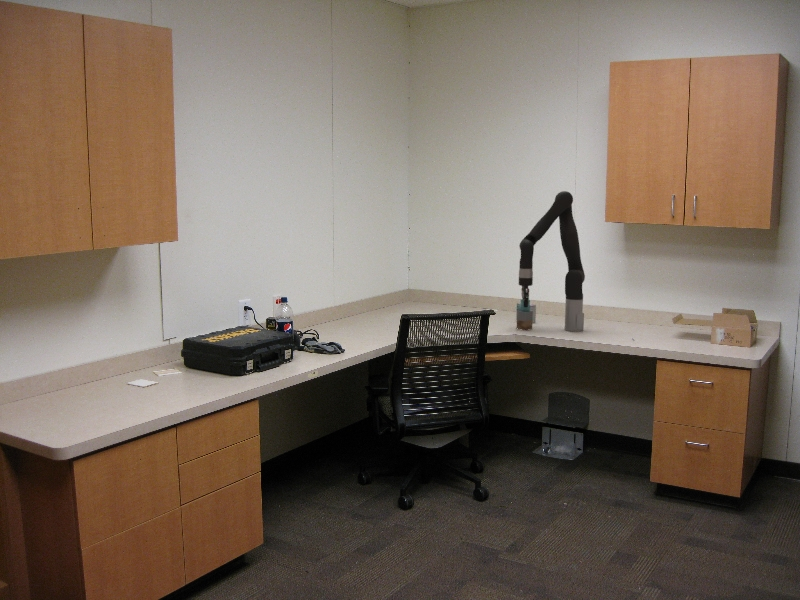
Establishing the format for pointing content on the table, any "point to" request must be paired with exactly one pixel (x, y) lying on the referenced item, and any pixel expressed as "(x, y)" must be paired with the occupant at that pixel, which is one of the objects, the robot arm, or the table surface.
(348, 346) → the table surface
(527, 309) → the teal cylinder
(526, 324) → the walnut base block
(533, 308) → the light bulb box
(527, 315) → the grey top block
